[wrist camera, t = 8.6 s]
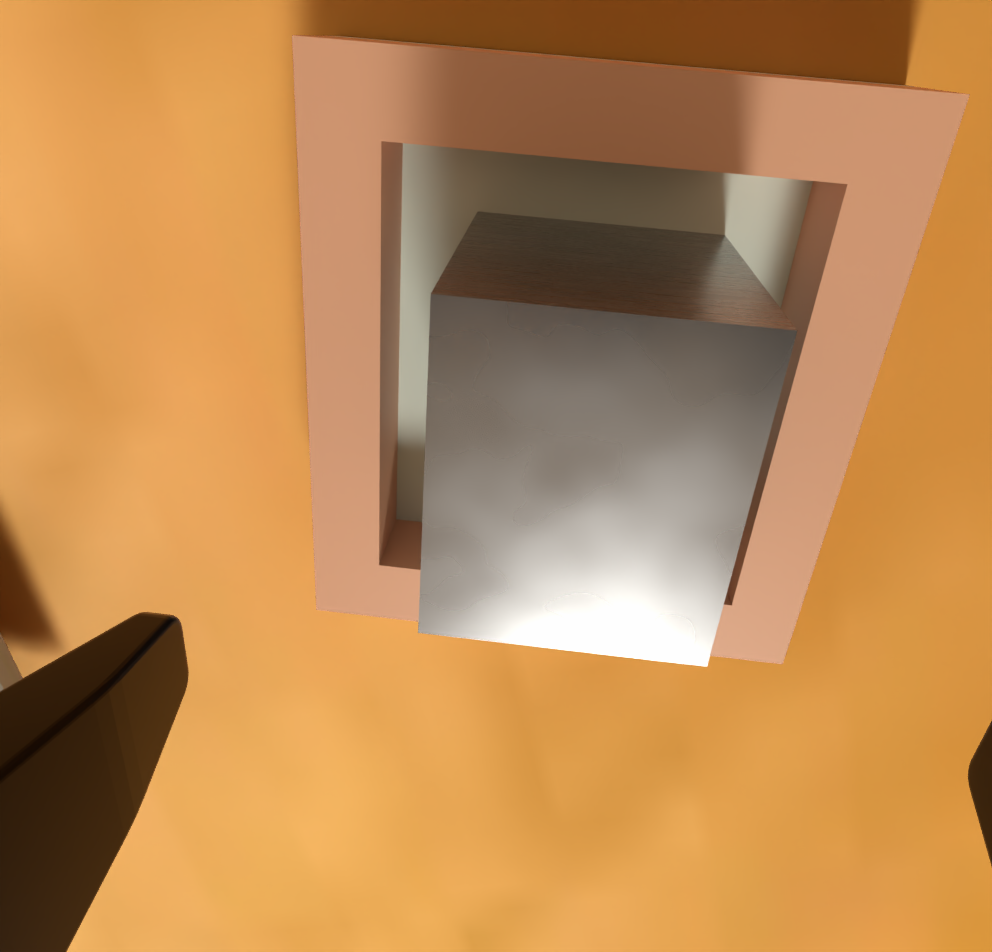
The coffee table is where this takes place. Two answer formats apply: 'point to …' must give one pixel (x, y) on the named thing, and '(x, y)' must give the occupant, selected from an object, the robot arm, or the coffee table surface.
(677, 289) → the grey metal box
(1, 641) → the toy vehicle
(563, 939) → the coffee table surface
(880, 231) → the square tray
